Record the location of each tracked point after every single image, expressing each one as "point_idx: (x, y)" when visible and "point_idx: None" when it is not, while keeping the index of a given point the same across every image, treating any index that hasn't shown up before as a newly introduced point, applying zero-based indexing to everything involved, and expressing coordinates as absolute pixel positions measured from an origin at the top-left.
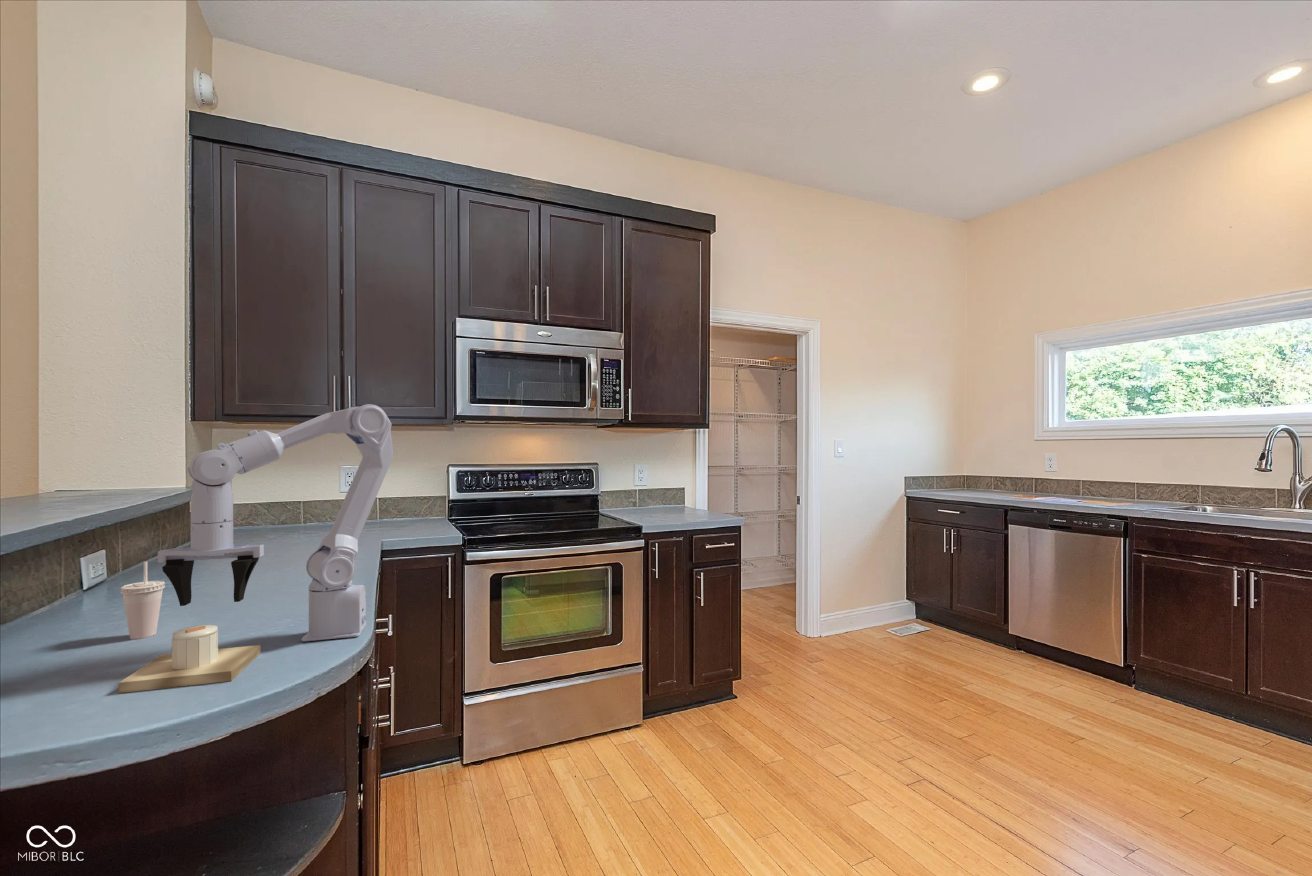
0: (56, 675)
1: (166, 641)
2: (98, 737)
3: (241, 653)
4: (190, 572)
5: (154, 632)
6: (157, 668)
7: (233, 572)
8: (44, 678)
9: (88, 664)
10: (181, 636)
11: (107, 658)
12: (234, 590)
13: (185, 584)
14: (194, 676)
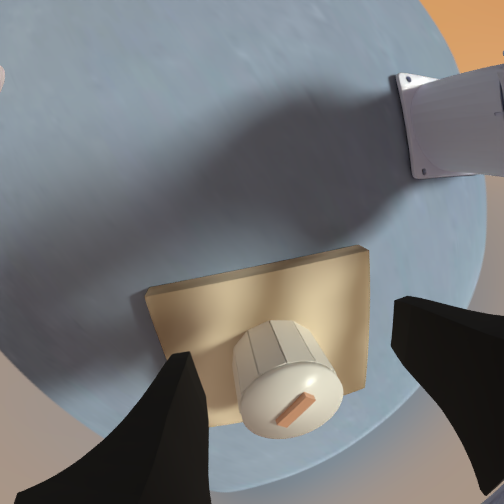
0: (11, 320)
1: (44, 114)
2: (278, 479)
3: (350, 308)
4: (164, 484)
5: (1, 78)
6: (214, 383)
7: (467, 450)
8: (9, 331)
9: (6, 269)
10: (284, 437)
11: (8, 235)
12: (421, 383)
13: (194, 463)
14: None
